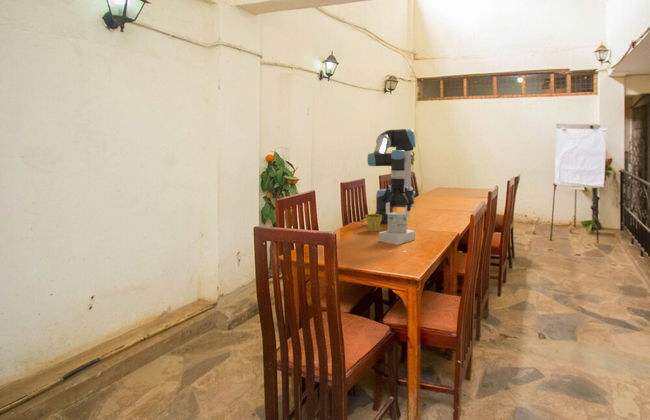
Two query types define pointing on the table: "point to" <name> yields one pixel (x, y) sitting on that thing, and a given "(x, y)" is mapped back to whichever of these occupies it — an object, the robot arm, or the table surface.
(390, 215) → the light bulb box
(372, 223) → the plant pot
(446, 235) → the table surface
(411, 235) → the grey plinth
